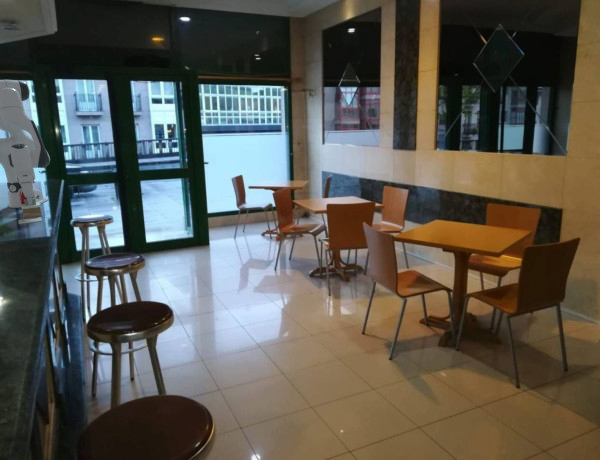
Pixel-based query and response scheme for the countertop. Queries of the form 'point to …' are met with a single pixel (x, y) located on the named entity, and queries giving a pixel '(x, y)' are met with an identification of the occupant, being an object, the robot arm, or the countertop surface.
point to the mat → (30, 220)
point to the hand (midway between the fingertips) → (30, 203)
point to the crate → (32, 212)
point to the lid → (26, 205)
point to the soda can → (23, 197)
